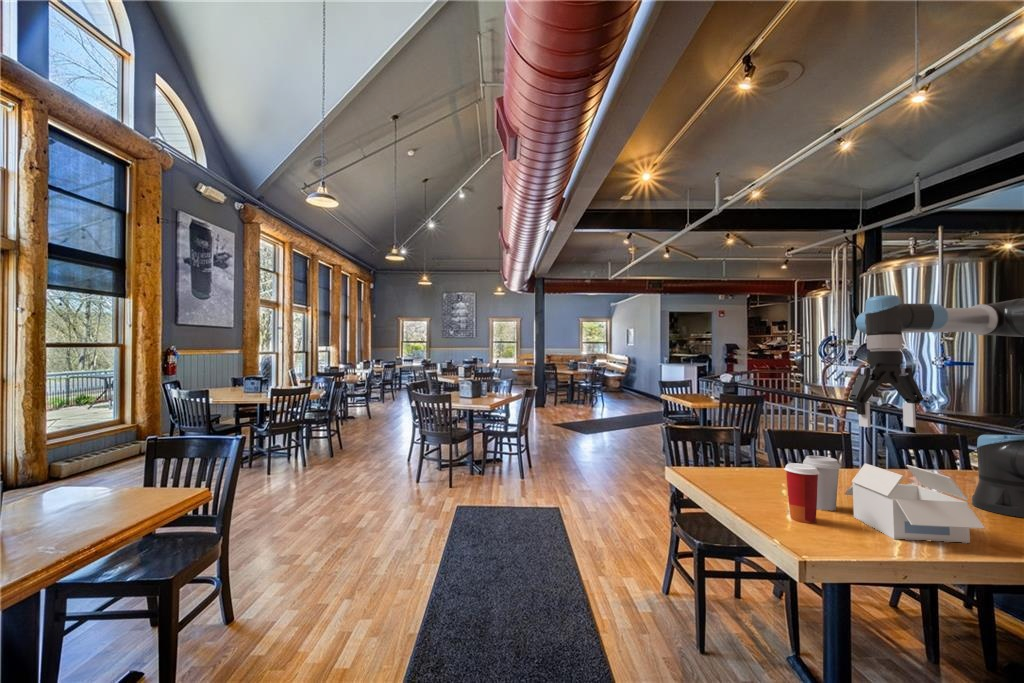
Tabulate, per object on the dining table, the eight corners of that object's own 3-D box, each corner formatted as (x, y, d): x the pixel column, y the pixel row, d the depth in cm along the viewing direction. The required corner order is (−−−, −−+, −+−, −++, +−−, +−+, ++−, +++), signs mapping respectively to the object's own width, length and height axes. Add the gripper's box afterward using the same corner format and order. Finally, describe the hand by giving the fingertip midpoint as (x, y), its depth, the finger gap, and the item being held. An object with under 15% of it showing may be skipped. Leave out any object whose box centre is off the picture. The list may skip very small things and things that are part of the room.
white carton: (905, 515, 124) (904, 480, 124) (989, 552, 99) (987, 508, 100) (842, 512, 126) (841, 477, 126) (909, 547, 101) (908, 504, 102)
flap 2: (921, 485, 119) (922, 484, 119) (967, 500, 105) (968, 499, 105) (906, 465, 120) (907, 464, 119) (949, 478, 106) (950, 477, 106)
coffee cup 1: (817, 517, 121) (815, 464, 122) (824, 526, 114) (822, 470, 115) (782, 512, 125) (781, 461, 126) (787, 521, 118) (786, 467, 118)
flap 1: (866, 464, 121) (864, 463, 121) (904, 476, 107) (902, 475, 107) (852, 482, 121) (851, 481, 121) (888, 496, 108) (887, 495, 108)
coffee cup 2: (832, 503, 133) (830, 456, 134) (849, 514, 124) (847, 462, 125) (798, 501, 136) (797, 454, 136) (812, 511, 126) (811, 460, 127)
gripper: (911, 351, 123) (914, 424, 122) (831, 350, 121) (834, 424, 120) (939, 350, 116) (942, 428, 115) (854, 349, 114) (857, 428, 113)
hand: (887, 426), depth 117 cm, fingers open, 13 cm apart
